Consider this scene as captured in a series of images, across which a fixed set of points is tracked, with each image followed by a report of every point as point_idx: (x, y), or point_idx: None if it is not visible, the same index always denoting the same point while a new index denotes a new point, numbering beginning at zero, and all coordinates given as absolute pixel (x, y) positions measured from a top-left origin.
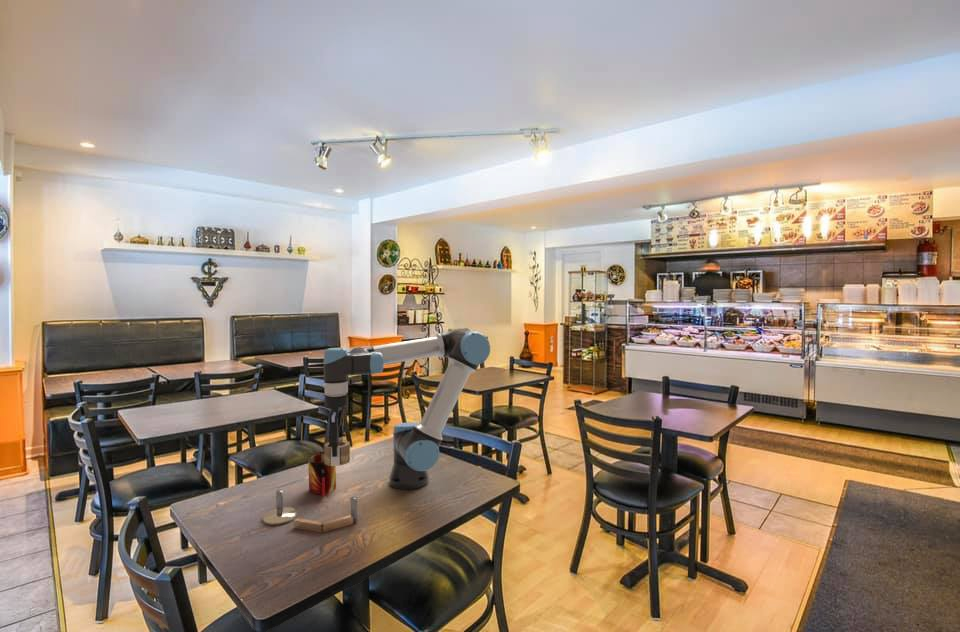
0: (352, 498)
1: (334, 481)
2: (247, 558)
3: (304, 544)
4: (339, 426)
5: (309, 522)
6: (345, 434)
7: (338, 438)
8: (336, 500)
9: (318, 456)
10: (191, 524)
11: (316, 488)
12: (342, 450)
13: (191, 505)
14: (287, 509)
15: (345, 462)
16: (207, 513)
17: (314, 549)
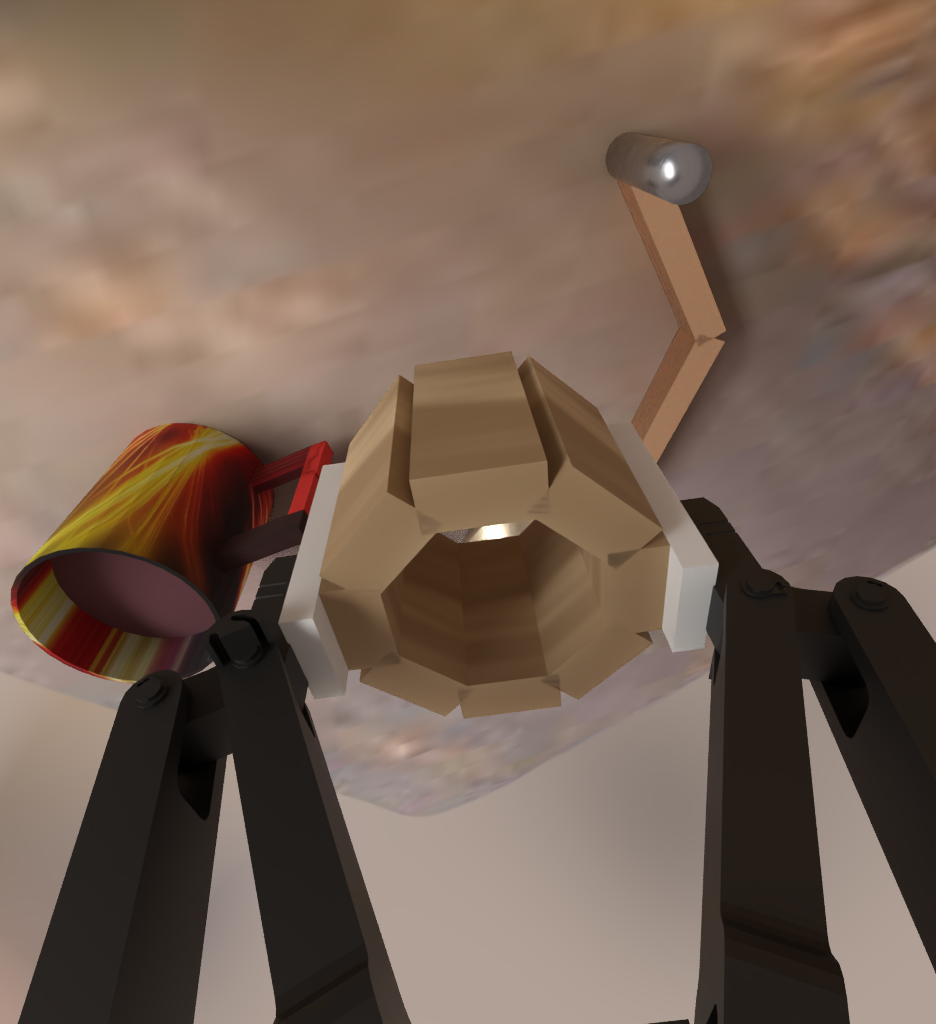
0: (692, 183)
1: (170, 450)
2: (836, 533)
3: (805, 367)
4: (345, 850)
5: (681, 410)
6: (225, 635)
7: (770, 665)
8: (326, 368)
9: (72, 650)
10: (551, 750)
11: (266, 514)
12: (628, 487)
13: (423, 798)
14: None
15: (558, 383)
16: (479, 749)
17: (874, 302)
